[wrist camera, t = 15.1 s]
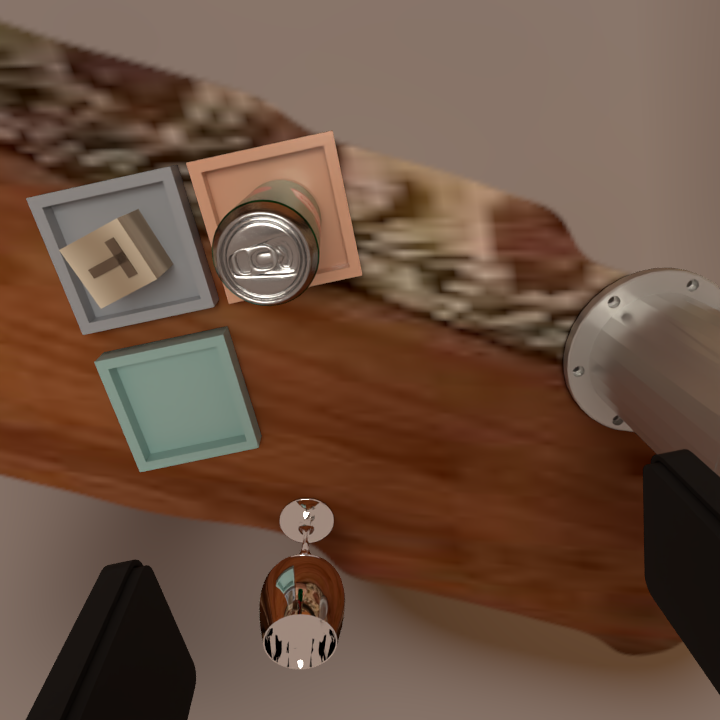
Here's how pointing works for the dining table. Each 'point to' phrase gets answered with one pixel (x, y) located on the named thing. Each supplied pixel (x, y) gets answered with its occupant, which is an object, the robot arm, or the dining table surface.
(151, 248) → the letter cube
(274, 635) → the wineglass
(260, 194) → the soda can
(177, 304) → the tray slate
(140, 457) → the tray teal
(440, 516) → the dining table surface
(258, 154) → the tray terracotta
